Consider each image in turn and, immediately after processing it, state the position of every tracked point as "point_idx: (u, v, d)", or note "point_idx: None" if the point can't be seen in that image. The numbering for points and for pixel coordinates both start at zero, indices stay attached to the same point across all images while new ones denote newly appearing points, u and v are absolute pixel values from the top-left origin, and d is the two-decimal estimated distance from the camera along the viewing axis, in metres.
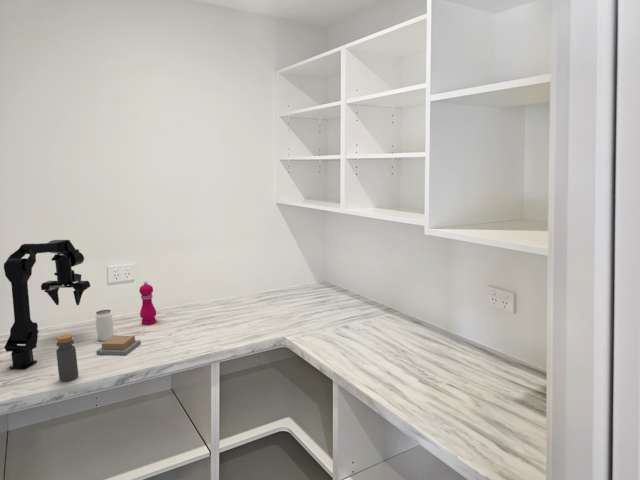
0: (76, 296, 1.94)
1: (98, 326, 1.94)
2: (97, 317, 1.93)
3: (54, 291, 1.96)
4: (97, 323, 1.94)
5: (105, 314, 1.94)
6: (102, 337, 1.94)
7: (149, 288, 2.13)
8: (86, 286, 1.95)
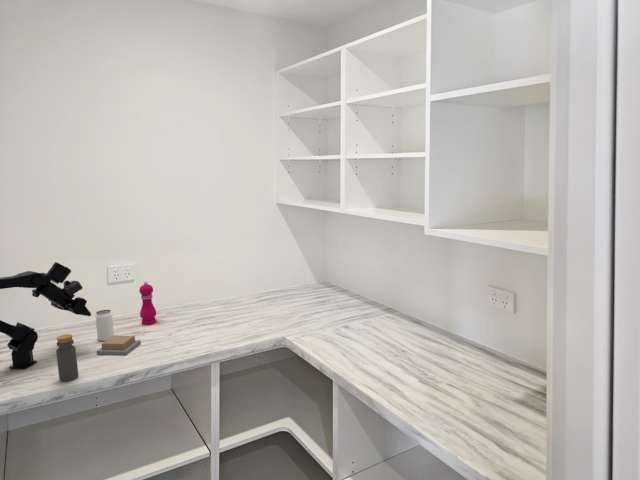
0: (80, 314, 1.82)
1: (98, 326, 1.94)
2: (97, 317, 1.93)
3: None
4: (97, 323, 1.94)
5: (105, 314, 1.94)
6: (102, 337, 1.94)
7: (149, 288, 2.13)
8: (80, 306, 1.78)
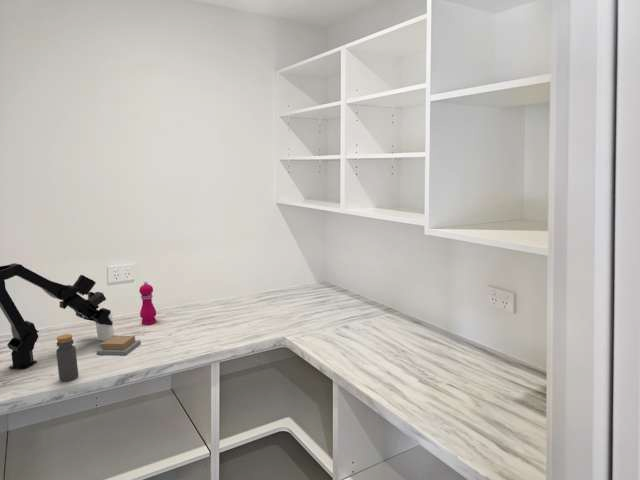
0: None
1: (98, 326, 1.94)
2: None
3: None
4: (97, 323, 1.94)
5: None
6: (102, 337, 1.94)
7: (149, 288, 2.13)
8: (105, 317, 1.87)
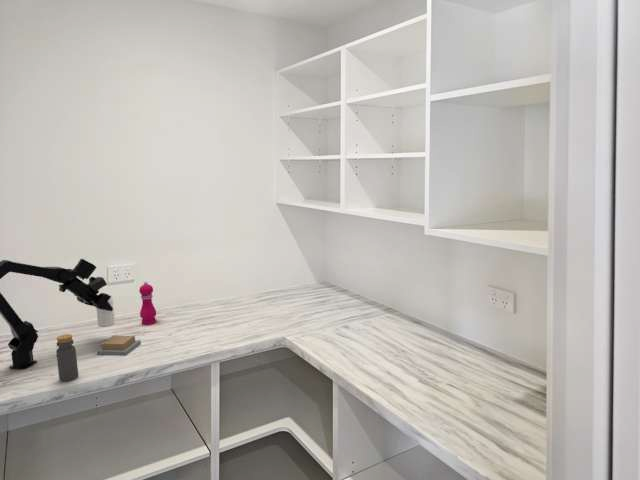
0: None
1: (98, 311, 1.92)
2: None
3: None
4: (97, 308, 1.92)
5: None
6: (102, 323, 1.92)
7: (149, 288, 2.13)
8: (104, 302, 1.84)
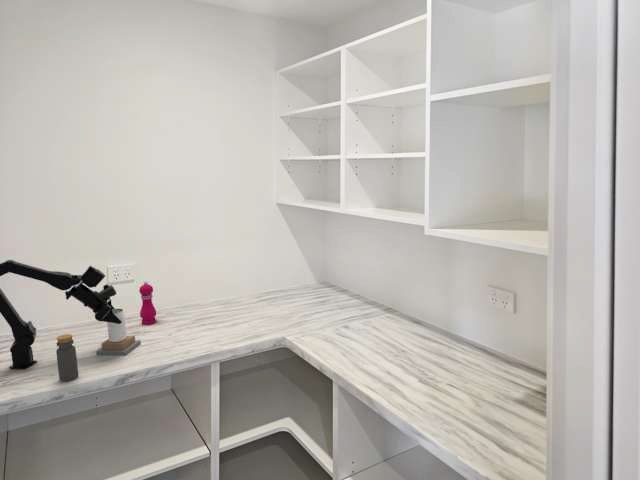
0: (107, 321, 1.77)
1: (107, 325, 1.82)
2: None
3: None
4: (107, 322, 1.82)
5: None
6: (110, 338, 1.81)
7: (149, 288, 2.13)
8: (103, 314, 1.73)
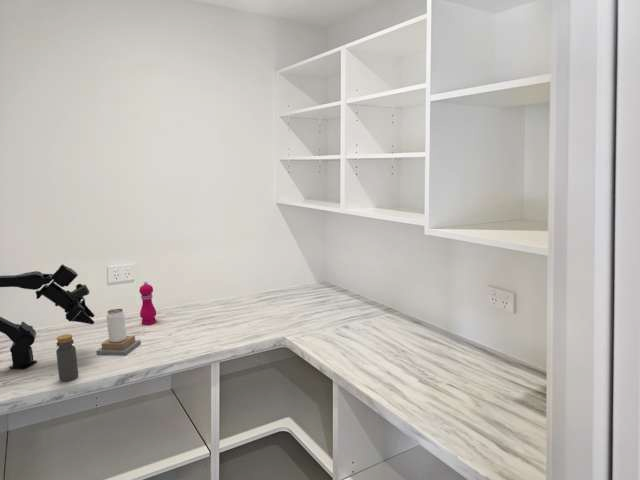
0: (79, 321, 1.73)
1: (107, 325, 1.82)
2: (107, 316, 1.81)
3: None
4: (107, 322, 1.82)
5: (113, 314, 1.80)
6: (110, 338, 1.81)
7: (149, 288, 2.13)
8: (74, 314, 1.68)
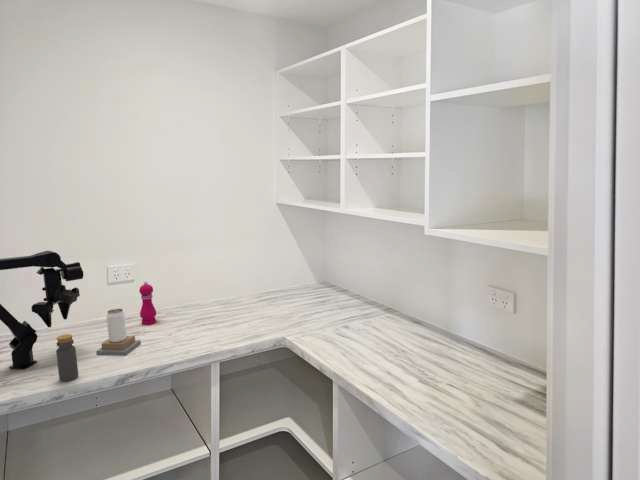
0: None
1: (107, 325, 1.82)
2: (107, 316, 1.81)
3: (63, 303, 1.83)
4: (107, 322, 1.82)
5: (113, 314, 1.80)
6: (110, 338, 1.81)
7: (149, 288, 2.13)
8: (38, 310, 1.68)
